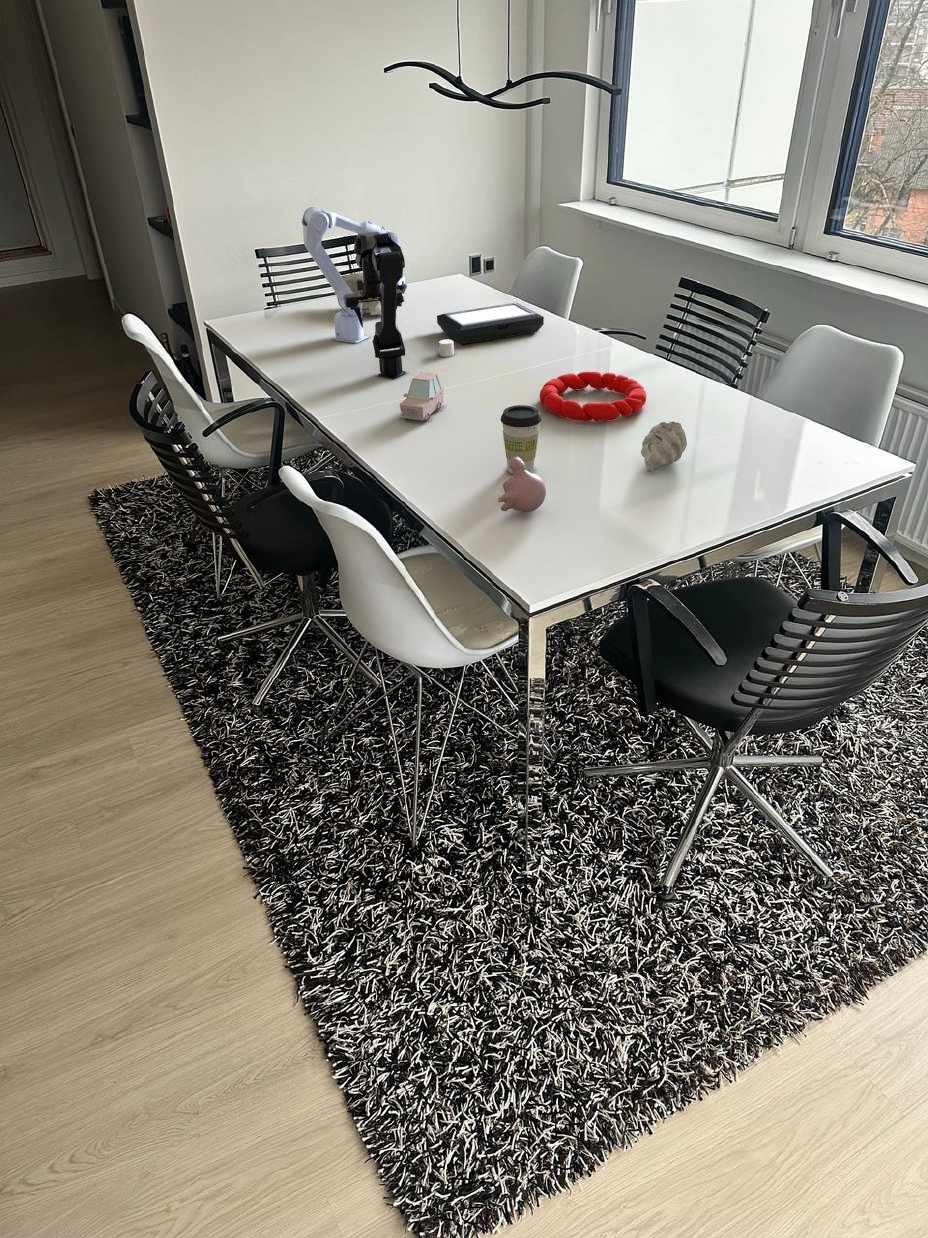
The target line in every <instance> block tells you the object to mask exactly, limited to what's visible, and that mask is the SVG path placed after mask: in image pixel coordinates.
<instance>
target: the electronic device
mask: <svg viewBox="0 0 928 1238" xmlns="http://www.w3.org/2000/svg"><path fill="white" fill-rule="evenodd" d="M544 320H545V317H544V316H543V315H541V314H539V313H538V312H536V311H533V310H532V309H530V308H528V307H525V305H522V304H520V303H518V302H511V303H504V304H498V305H491V306H485V307H479V308H478V307H477V308H472V309H465V310H459V311H452V312H445V313H441V314H438V315H436V324H438V326H439V328H440V329H441V330H442V332H443V333H445V334H446V335H448V336H449V337H451V338H453V339H454V340H456V341H458V342H459V343H461V345H465V344H472V343H479V342H484V341H490V340H496V339H497V340H498V339H502V338H508V337H509V338H510V337H514V336H521V335H527V334H531V333H532V334H533V333H538V332H539V330H540V329H541V328H542V327H543V326H544V325H545V321H544Z"/></svg>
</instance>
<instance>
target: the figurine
mask: <svg viewBox="0 0 928 1238" xmlns="http://www.w3.org/2000/svg"><path fill="white" fill-rule="evenodd" d="M509 467H510V468H511V469H512V473H511V475H512V476H510V477H508V479H506V480H505V481H503V484H502V488H503V491H504V493H503V494H501V495H500V496H499V497H498V498H497V500H498V501H497V502H498V503H502V505H501V506H500V510H501V511H502V512H507V511H509V510H514V511H517V512H520V513H531V512H534V511H536V510H537V509H539V508H540V507H541V506H542V505H543V503H544V501H545V500H546V494H547V489H546V485H545V483H544V481H543V480H542V479H541V477H540V476H538V475H537V474H535V473H532V472H531V473H529V472H528V471H526V466H525V464H524V462H523V461H522V460H521V459H520V458H519V457H514V458H512V459H511V460H510V461H509Z"/></svg>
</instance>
